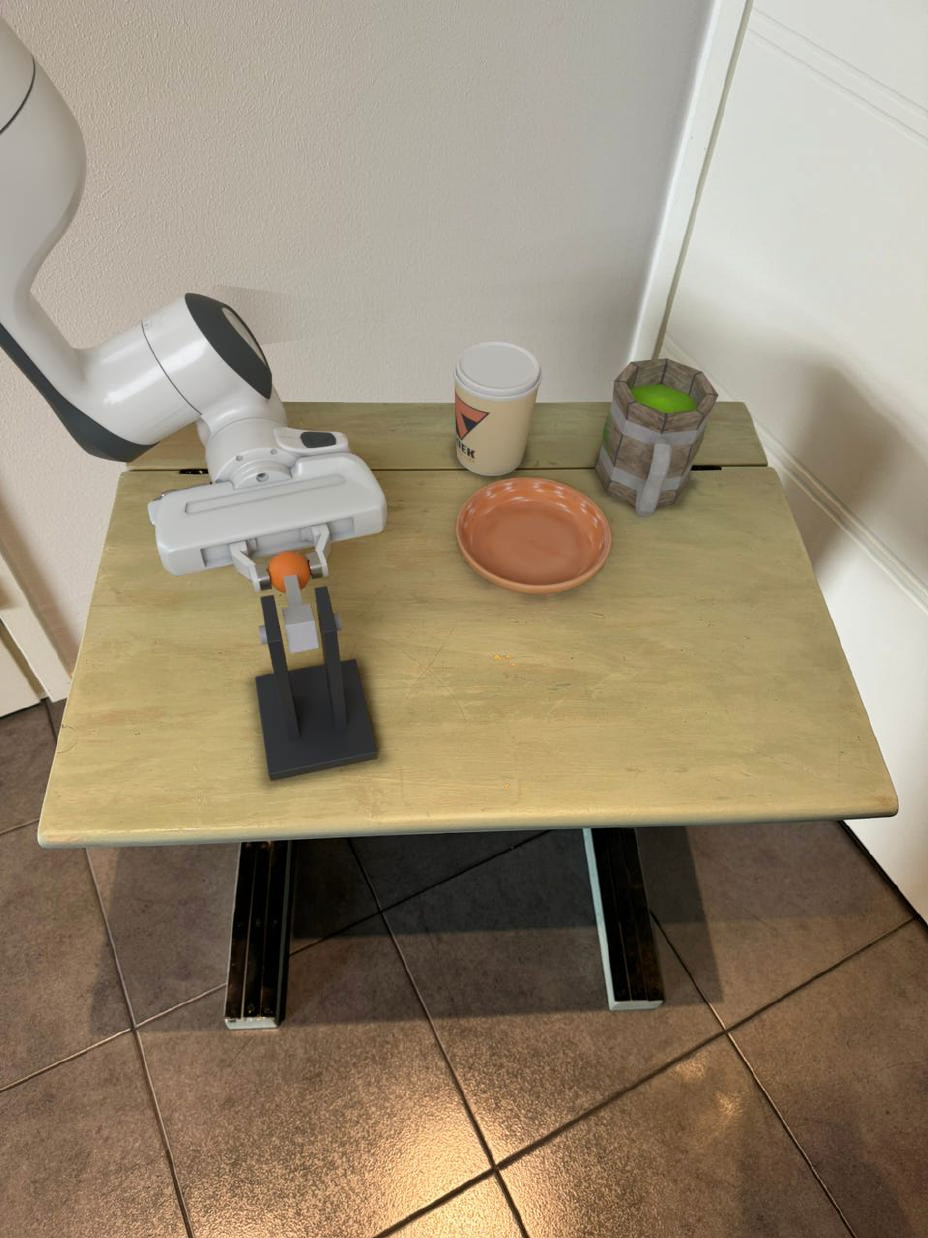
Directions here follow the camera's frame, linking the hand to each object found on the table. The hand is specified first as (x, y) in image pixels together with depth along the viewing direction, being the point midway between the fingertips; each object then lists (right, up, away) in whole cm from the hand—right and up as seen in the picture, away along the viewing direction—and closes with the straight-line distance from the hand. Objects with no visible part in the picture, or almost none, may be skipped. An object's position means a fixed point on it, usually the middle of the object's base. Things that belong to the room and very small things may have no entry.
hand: (292, 579), depth 71 cm
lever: (+1, -3, -3) cm, 4 cm away
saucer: (+22, +4, +17) cm, 28 cm away
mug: (+34, +11, +24) cm, 43 cm away
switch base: (+2, -12, +2) cm, 12 cm away
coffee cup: (+17, +16, +26) cm, 35 cm away
